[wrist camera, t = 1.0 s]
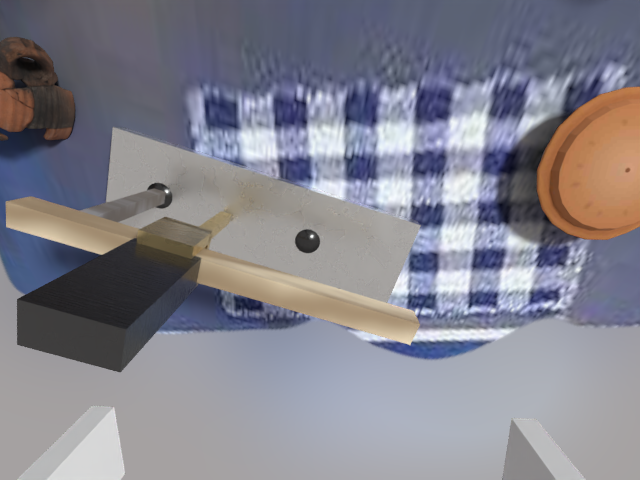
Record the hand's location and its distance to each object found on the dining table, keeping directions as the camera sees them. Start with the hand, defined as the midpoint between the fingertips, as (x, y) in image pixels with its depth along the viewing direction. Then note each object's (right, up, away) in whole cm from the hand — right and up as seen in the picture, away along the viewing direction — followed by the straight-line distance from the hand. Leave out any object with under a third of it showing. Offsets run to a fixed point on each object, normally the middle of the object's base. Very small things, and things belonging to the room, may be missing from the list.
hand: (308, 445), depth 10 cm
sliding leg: (-11, +9, +26) cm, 30 cm away
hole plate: (-7, +9, +29) cm, 31 cm away
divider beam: (-7, +8, +27) cm, 29 cm away
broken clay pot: (-31, +23, +25) cm, 46 cm away
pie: (+31, +15, +26) cm, 43 cm away
